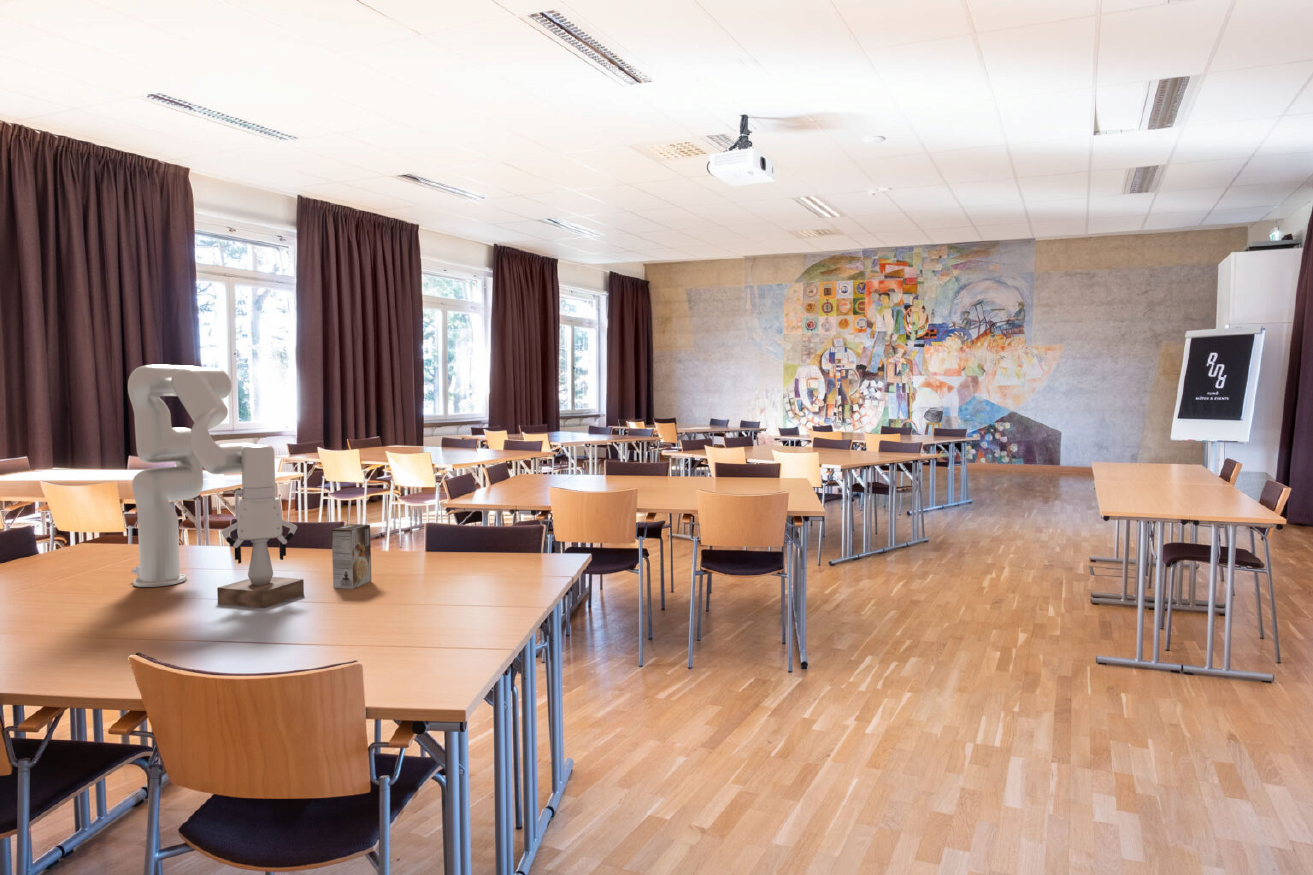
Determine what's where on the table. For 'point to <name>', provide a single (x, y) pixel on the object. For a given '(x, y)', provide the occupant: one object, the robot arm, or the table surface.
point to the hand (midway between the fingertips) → (260, 560)
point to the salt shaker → (260, 563)
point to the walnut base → (260, 592)
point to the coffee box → (351, 556)
